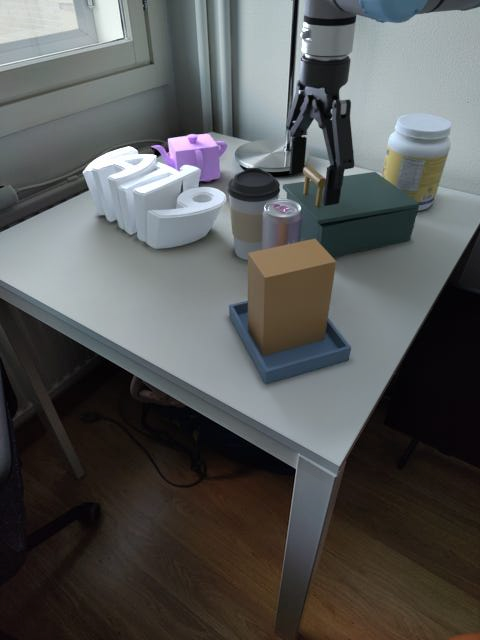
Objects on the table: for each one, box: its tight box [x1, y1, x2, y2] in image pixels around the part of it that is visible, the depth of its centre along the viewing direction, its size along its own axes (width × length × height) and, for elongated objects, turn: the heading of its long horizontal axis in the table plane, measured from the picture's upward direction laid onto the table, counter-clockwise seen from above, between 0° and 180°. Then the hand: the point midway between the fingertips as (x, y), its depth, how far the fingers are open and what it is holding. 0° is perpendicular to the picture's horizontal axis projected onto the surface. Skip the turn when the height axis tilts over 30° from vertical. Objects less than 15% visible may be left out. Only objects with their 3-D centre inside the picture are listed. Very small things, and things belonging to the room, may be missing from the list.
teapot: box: [150, 133, 228, 183], centre depth 109 cm, size 18×14×10 cm
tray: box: [228, 300, 352, 385], centre depth 69 cm, size 15×13×2 cm
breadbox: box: [285, 192, 419, 258], centre depth 91 cm, size 20×15×7 cm
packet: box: [247, 239, 337, 356], centre depth 65 cm, size 6×10×14 cm, turn 110°
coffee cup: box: [227, 167, 281, 261], centre depth 83 cm, size 9×9×15 cm
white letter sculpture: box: [82, 146, 227, 250], centre depth 95 cm, size 35×16×10 cm, turn 42°
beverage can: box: [262, 198, 302, 250], centre depth 74 cm, size 6×6×15 cm
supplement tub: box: [380, 113, 452, 212], centre depth 97 cm, size 12×12×17 cm
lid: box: [282, 164, 420, 224], centre depth 86 cm, size 21×15×6 cm
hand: (312, 187), depth 84 cm, fingers open, 13 cm apart
